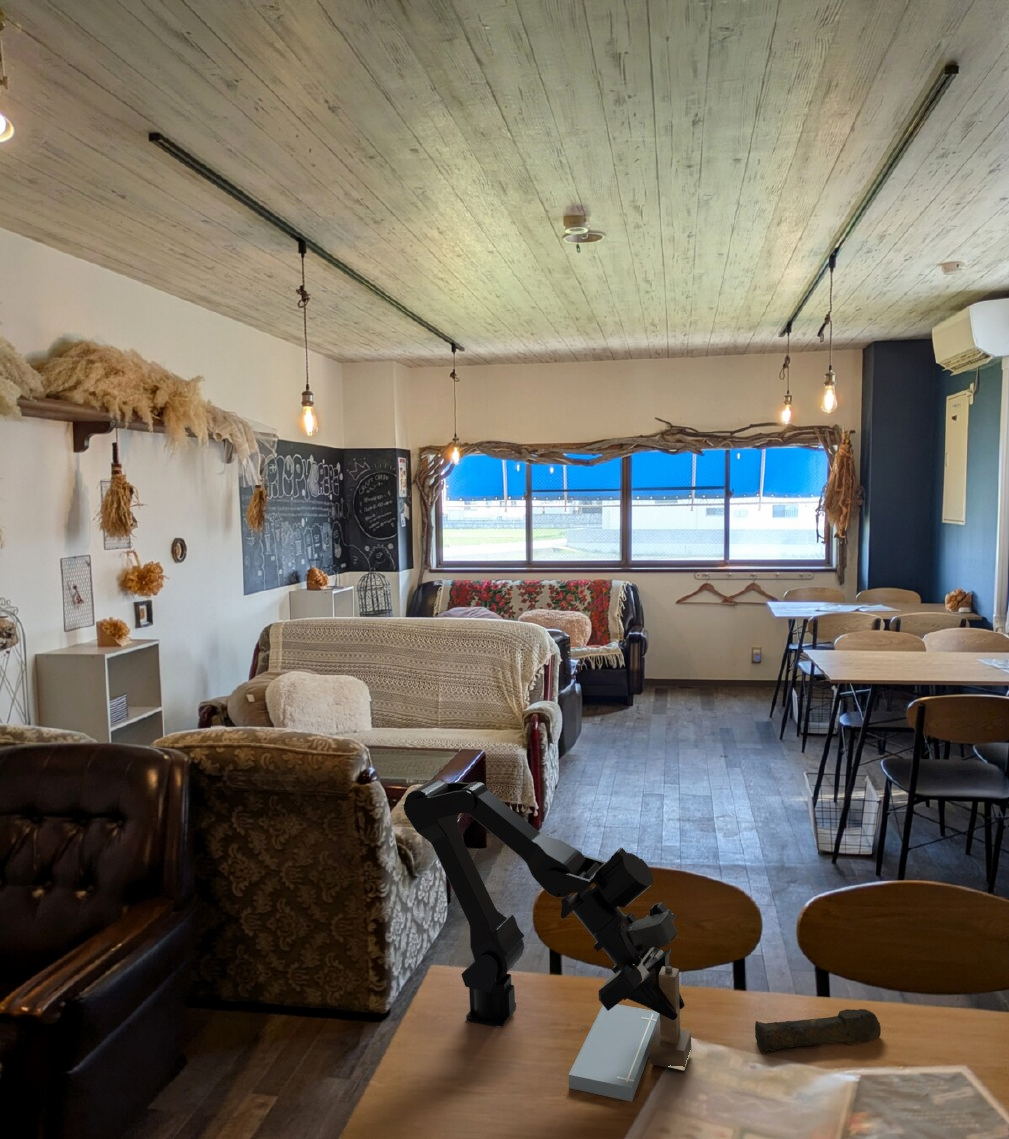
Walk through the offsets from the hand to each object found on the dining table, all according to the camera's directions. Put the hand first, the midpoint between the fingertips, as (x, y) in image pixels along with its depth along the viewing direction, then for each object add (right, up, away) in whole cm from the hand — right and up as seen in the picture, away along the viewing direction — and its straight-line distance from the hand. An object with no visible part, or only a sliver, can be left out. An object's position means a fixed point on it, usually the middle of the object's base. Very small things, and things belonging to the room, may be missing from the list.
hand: (679, 1012), depth 126 cm
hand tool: (+22, -7, +5) cm, 23 cm away
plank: (-9, -8, +3) cm, 12 cm away
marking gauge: (-1, -7, +1) cm, 7 cm away
